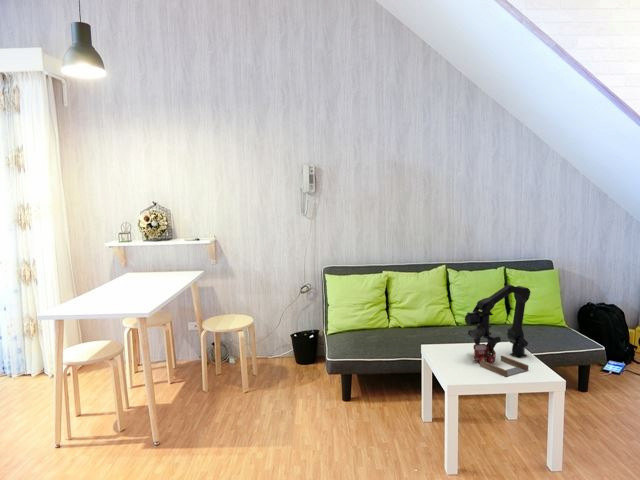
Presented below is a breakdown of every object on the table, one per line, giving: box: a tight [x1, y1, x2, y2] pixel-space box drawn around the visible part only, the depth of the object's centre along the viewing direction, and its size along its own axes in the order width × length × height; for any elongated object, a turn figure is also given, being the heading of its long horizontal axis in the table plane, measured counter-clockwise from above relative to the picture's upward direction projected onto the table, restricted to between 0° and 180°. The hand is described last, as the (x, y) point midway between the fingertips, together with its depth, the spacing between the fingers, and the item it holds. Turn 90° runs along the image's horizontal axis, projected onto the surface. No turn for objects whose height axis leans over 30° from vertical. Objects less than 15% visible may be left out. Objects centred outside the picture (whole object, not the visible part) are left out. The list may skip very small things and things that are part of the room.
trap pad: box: [506, 367, 527, 377], centre depth 232 cm, size 13×6×1 cm, turn 116°
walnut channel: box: [479, 355, 529, 378], centre depth 237 cm, size 16×17×3 cm
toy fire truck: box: [473, 343, 497, 365], centre depth 247 cm, size 7×12×10 cm, turn 98°
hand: (483, 350), depth 249 cm, fingers open, 9 cm apart
